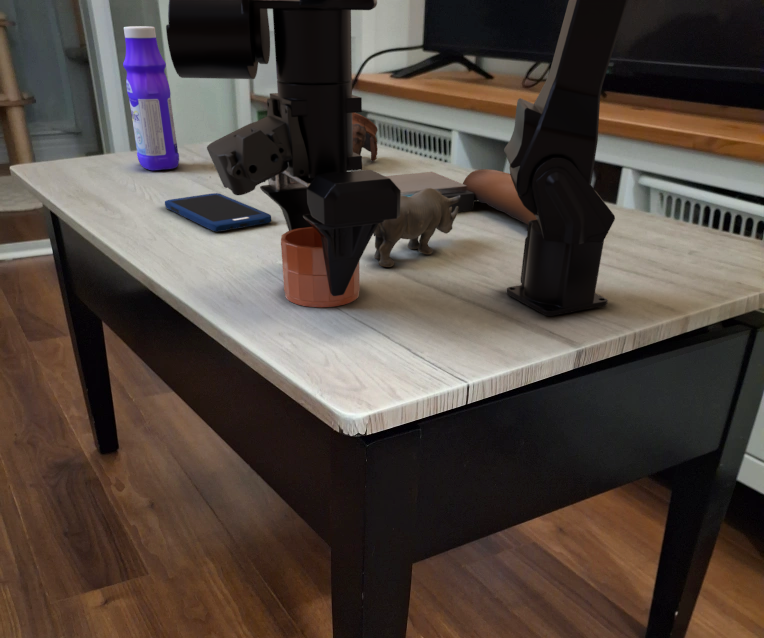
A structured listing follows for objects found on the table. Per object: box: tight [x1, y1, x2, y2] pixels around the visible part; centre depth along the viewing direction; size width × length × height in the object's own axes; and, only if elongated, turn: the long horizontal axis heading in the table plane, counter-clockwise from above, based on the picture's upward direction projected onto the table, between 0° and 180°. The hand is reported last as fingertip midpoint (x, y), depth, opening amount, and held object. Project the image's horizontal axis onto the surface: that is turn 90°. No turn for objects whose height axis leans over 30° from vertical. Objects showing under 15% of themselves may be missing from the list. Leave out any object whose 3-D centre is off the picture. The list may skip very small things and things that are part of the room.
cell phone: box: [164, 192, 272, 233], centre depth 89 cm, size 7×14×1 cm, turn 37°
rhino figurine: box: [373, 188, 460, 268], centre depth 77 cm, size 4×14×6 cm, turn 139°
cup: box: [280, 227, 361, 308], centre depth 66 cm, size 7×7×5 cm
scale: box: [384, 171, 475, 213], centre depth 92 cm, size 10×18×3 cm, turn 116°
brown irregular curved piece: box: [352, 113, 379, 162], centre depth 113 cm, size 12×10×8 cm
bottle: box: [122, 25, 180, 171], centre depth 106 cm, size 7×6×17 cm
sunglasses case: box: [462, 168, 537, 225], centre depth 89 cm, size 18×7×7 cm
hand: (321, 282), depth 67 cm, fingers closed on cup, 6 cm apart
